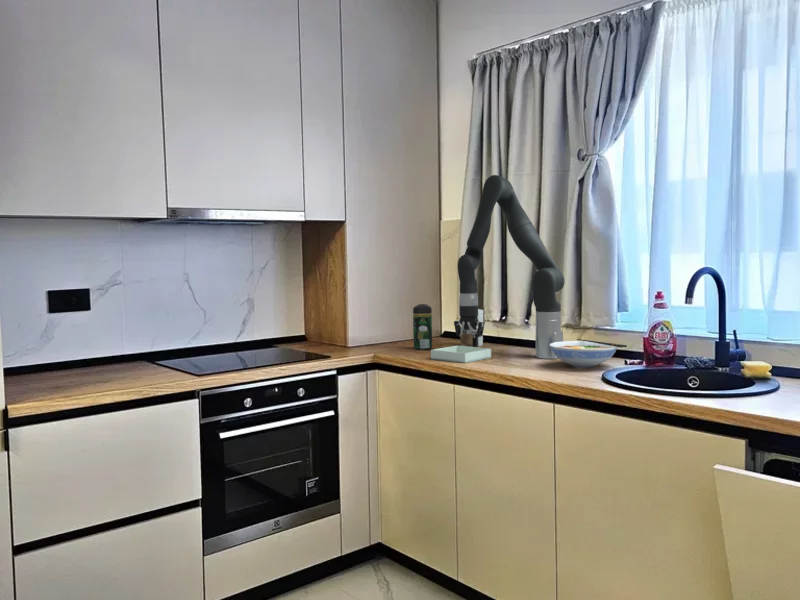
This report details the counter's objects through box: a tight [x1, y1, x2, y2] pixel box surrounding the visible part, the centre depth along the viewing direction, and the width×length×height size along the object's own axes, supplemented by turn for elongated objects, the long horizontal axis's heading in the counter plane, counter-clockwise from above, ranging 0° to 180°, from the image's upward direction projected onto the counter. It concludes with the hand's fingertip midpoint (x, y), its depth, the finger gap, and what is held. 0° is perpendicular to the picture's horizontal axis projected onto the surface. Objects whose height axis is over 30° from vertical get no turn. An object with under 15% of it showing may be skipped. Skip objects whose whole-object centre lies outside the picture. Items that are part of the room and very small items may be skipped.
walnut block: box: [459, 334, 479, 347], centre depth 274 cm, size 5×5×6 cm
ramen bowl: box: [550, 338, 628, 369], centre depth 234 cm, size 25×23×8 cm
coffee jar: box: [412, 303, 433, 351], centre depth 286 cm, size 10×8×19 cm
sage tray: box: [430, 345, 492, 364], centre depth 256 cm, size 16×16×4 cm
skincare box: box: [460, 308, 484, 347], centre depth 294 cm, size 8×7×16 cm
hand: (469, 346), depth 274 cm, fingers closed on walnut block, 5 cm apart
